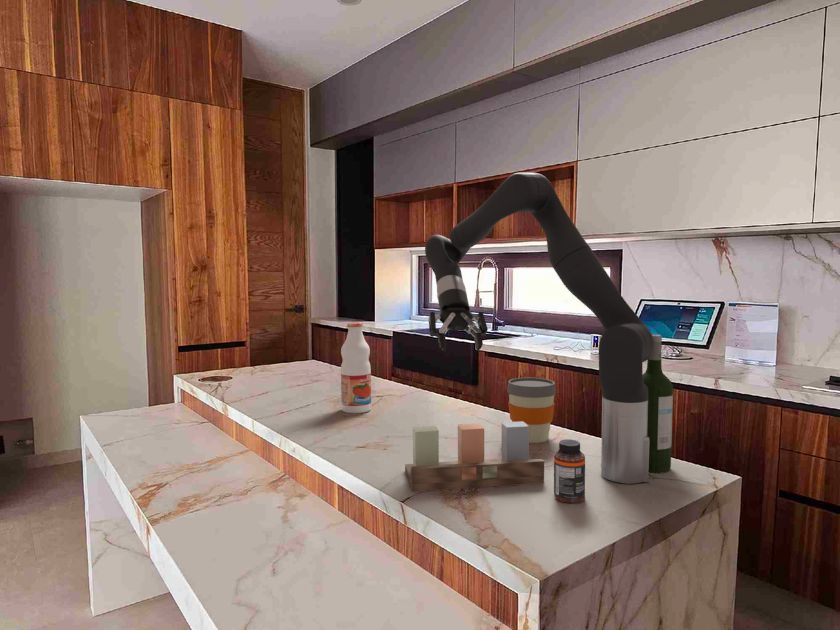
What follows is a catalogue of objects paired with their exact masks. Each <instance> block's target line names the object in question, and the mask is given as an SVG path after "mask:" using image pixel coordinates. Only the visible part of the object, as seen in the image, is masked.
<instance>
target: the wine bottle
mask: <svg viewBox="0 0 840 630" xmlns="http://www.w3.org/2000/svg"><path fill="white" fill-rule="evenodd" d="M652 336H653V339H654V351H653V354H652V355H651V357H650V358H649V359H648V360H646V362H647V363H646V369H645V372H644V373H643V382H644V384H645V385H646V386H647V387H648V426H647V435H648V437H649V473H651V474H664V473H668V472H670V470H671V469H672V468H671V467H672V440H673V439H672V438H673V437H672V435H673V433H672V432H673V431H672V430H673V406H674V405H673V402H674V399H673V397H674V395H673V394H674V386H673V383H672V381H671V379H670V378H669V377H667V376H666V374H665V373H663V369H662V341H663V338H662V335H661V334H652Z"/></svg>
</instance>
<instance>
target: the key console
mask: <svg viewBox="0 0 840 630" xmlns="http://www.w3.org/2000/svg"><path fill="white" fill-rule="evenodd" d="M404 470H405V473H406V477H407V481H408V483H409V486H410V489H411V492H423V491H424V492H425V491H439V490H440V491H441V490H457V489H471V488H483V487H484V488H485V487H486V488H487V487H499V486H501V487H502V486H515V485H518V486H519V485H529V484H530V485H532V484H544V483H545V460H544V459H543V458H536V459H533V458H532V459H529V460H515V461H501V458H491V459H487V458H486V459H484V462H481V463H464V464H458V460H455V461H439V465H430V466H413V463H406V464H404Z"/></svg>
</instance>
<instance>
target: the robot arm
mask: <svg viewBox="0 0 840 630" xmlns="http://www.w3.org/2000/svg"><path fill="white" fill-rule="evenodd" d="M516 213H519V214H520V213H523V214H524V213H530V214H531V215H532V216H533V218H535V220H536V222H537V223H538V224H539V226H540V227H541V228H542V231H543V232H544V235H545V239H546V246H547V247H546V248H547V254H548V259H549V262H550V265H551V266H552V269H553V270H554V271H555V273H556V275H557V276H558V278H559V280H560V281H561V282H562V284H563V285H564V287H565V288H566V289H567V290H568V291H569V292H570V293H571V294H572V295H573V296H574V297H575V298H576V299H577V300H579V301H580V303H582V304H583V305H584V306H585V307H587V308H588V309H589V310H590V311H591V312H592V314H593V315H595V316H596V318H597V319H598V321H599V322H600V324H601V325H602V327H603V329H604V331H603V332H602V334H601V337H600V338H599V339H600V340H599V343H598V379H599V383H600V387H601V390H602V396H601V397H602V400H601V401H602V403H601V405H602V406H601V407H602V408H601V409H602V410H601V450H600V451H601V455H600V457H601V458H600V468H601V469H600V470H601V471H600V474H601V476H602V477H603V478H604V479H606V480H609V481H611V482H614V483H620V484H629V485H632V484H640V483H649V437H648V435H647V426H648V387H647V386H646V385H645V384H644V382H643V374H644V373H643V369H644V368H643V363H644V362H647V360H648V359H649V358H650V357H651V355H652V354H653V351H654V339H653V336H652V335H653V333H652V332H651V331H650V328H648V326H647V325H646V324H645V323H644V322H643V320H642V319H641V318H640V317H639V316H638V315H637V314H636V312H635V311H634V310H633V308H632V307H631V306H630V305H629V304H628V303H627V301H626V300H625V299H624V297H623V296H622V295H621V293H620V291H619V289H618V288H617V286H616V285H615V283H614V282H613V280H612V278H611V277H610V276H609V274H608V272H607V271H606V270H605V268H604V267H603V265H602V263H601V261H600V260H599V258H598V257H597V255H596V254H595V252H594V251H593V249H592V248H591V247H590V245H589V244H588V242H587V241H586V240H585V238H584V236H583V235H582V233H580V231H579V229H578V228H577V226H576V224H575V223H574V222H573V220H572V219H571V217H570V216H569V214H568V213H567V211H566V209H565V207H564V206H563V203H562V202H561V200H560V198H559V196H558V194H557V192H556V190H555V188H554V187H553V185H552V183H551V181H550V180H549V179H548V178H547V177H546V176H545V175H543V174H541V173H537V172H516V173H513V174H511V175H510V176H509V177H507V178H506V179H505V180H503V182H502V183H501V184H500V185H499V187H497V188H496V189H495V191H493V193H492V194H491V195H490V196H489V197H487V199H486V200H485V201H484V202H483V204H481V205H480V206H479V207H478V208H477V209H476V210H475V211H474V212H473V213H471V214H470V215H468V216H467V217H466V218H464V219H463V220H462V221H460V222H459V223H458V224H456V225H455V226H454V227H453V228H452V229H451V230H450V233H449V238H447V237H445V236H444V235H441V234H434V235H431V236H430V237H429V238H428V239H427V240H426V242H425V246H424V252H425V254H424V255H425V258H426V260H427V262H428V264H429V266H430V268H431V270H432V272H433V274H434V276H435V283H436V293H437V294H436V298H437V301H438V307H439V313H440V314H439V313H436V312H434V311H431V312H430V313H429V316H428V327H429V328H428V332H429V336H430V337H431V338H434V337H436V338H437V341H438V346H439V349H441V351H443V352H445V351H446V350H447V341H446V333H447V332H448V331H452V332H455V331H459V332H460V331H461V332H463V331H465V332H466V333H467V334H468V335H471V336H472V337H473V341H474V345H475V346H474V347H475V351H480V350H481V349H482V347H483V345H484V343H483V339H482V338H483V337H484V338H485V337H486V334H487V332H488V330H489V328H488V326H487V322H486V318H485V315H484V313H483V312H482V311H479V312H478V313H477V314H475V313H474V314H473V313H472V311H471V309H470V304H469V299H468V294H467V291H466V289H467V288H466V284H465V283H464V280H463V279H464V278H463V274H462V270H461V267H460V265H459V263H460V262H461V261H463V258H465V256H466V254H467V253H468V252H469V250H470V249H471V248H473V247H474V246H476V245H478V244H479V243H480V242H481V241H483V240H484V239H485V238H486V237H488V235H489V234H490V233H491V232H492V230H493V228H494V227H495V226H496V225H497V224H498V223H499V222H500V221H502V220H503V219H505V218H507V217H509V216H511V215H514V214H516ZM438 320H439V321H440V322H441V323H442V325H441V326H440V328H439V329H437V322H438ZM473 320H474V321H473ZM476 324H477V325H478V326H477V325H476Z"/></svg>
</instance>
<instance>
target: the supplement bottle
mask: <svg viewBox="0 0 840 630" xmlns="http://www.w3.org/2000/svg"><path fill="white" fill-rule="evenodd" d="M558 442H559V443H558V450H557V451H555V453H554V454H553V495H554V498H555V499H556V500H558V501H559V502H562V503H567V504H577V503H581V502H583V501H584V500H585V498H586V496H585V495H586V455H585V454H584V453H583V452H582V451H581V442H580V441H578V440H576V439H567V438H565V439H561V440H559V441H558Z"/></svg>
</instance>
